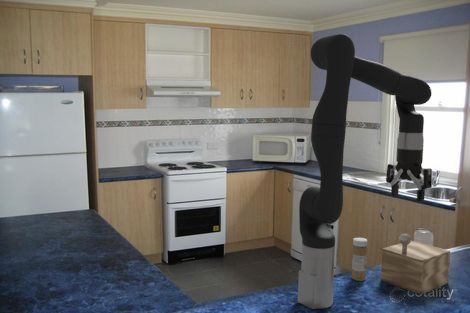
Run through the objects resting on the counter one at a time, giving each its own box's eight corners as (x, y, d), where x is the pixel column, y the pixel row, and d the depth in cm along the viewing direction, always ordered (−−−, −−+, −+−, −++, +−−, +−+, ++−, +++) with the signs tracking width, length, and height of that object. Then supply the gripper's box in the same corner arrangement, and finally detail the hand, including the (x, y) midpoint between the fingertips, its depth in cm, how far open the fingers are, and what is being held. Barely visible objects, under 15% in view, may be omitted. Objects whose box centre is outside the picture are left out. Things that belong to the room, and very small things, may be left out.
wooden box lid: (421, 262, 141) (422, 240, 140) (381, 250, 152) (382, 229, 152) (450, 252, 151) (451, 231, 150) (411, 242, 162) (412, 222, 161)
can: (411, 264, 170) (413, 231, 169) (413, 258, 176) (415, 227, 174) (430, 267, 167) (432, 234, 166) (432, 261, 173) (434, 229, 171)
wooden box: (419, 294, 142) (421, 262, 141) (380, 280, 154) (382, 250, 153) (448, 283, 152) (450, 253, 151) (409, 270, 163) (411, 242, 162)
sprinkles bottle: (357, 275, 158) (358, 236, 156) (368, 279, 154) (370, 239, 153) (348, 278, 155) (350, 238, 154) (360, 282, 151) (362, 241, 150)
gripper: (382, 146, 147) (380, 197, 149) (424, 150, 136) (421, 205, 138) (397, 144, 152) (394, 194, 154) (438, 148, 141) (435, 202, 142)
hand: (407, 199), depth 146 cm, fingers open, 8 cm apart
